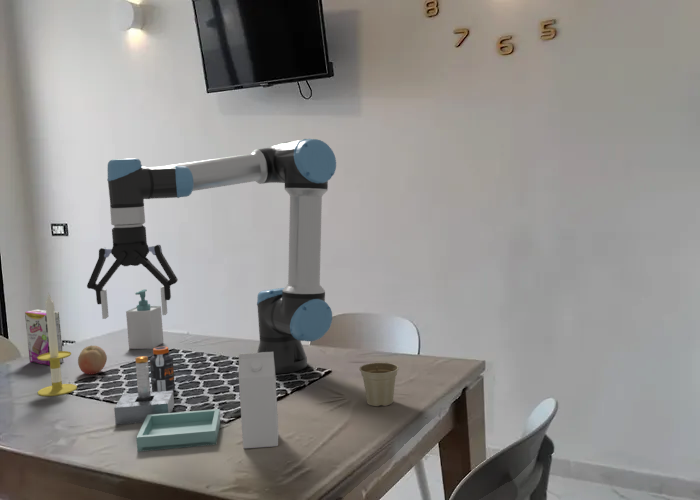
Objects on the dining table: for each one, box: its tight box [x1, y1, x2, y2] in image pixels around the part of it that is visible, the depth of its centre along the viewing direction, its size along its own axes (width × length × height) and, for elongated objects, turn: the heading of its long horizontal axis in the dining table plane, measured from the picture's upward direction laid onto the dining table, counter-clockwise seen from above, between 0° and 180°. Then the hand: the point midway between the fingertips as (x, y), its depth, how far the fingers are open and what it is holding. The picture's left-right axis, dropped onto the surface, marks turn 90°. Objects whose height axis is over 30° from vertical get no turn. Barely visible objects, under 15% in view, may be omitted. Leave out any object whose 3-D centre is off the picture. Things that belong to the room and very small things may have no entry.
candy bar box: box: [24, 309, 64, 367], centre depth 221 cm, size 11×5×16 cm, turn 58°
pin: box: [135, 355, 151, 402], centre depth 166 cm, size 3×3×14 cm
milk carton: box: [238, 352, 280, 449], centre depth 146 cm, size 7×7×19 cm
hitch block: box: [113, 390, 175, 426], centre depth 167 cm, size 12×10×4 cm
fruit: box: [77, 345, 108, 376], centre depth 206 cm, size 8×8×8 cm
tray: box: [136, 408, 221, 452], centre depth 152 cm, size 16×14×3 cm
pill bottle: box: [149, 346, 176, 392], centre depth 187 cm, size 6×6×11 cm
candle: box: [37, 292, 78, 397], centre depth 189 cm, size 10×10×27 cm
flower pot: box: [358, 362, 400, 407], centre depth 168 cm, size 9×9×9 cm
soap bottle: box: [125, 289, 164, 350], centre depth 237 cm, size 9×9×19 cm
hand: (135, 316), depth 165 cm, fingers open, 13 cm apart
